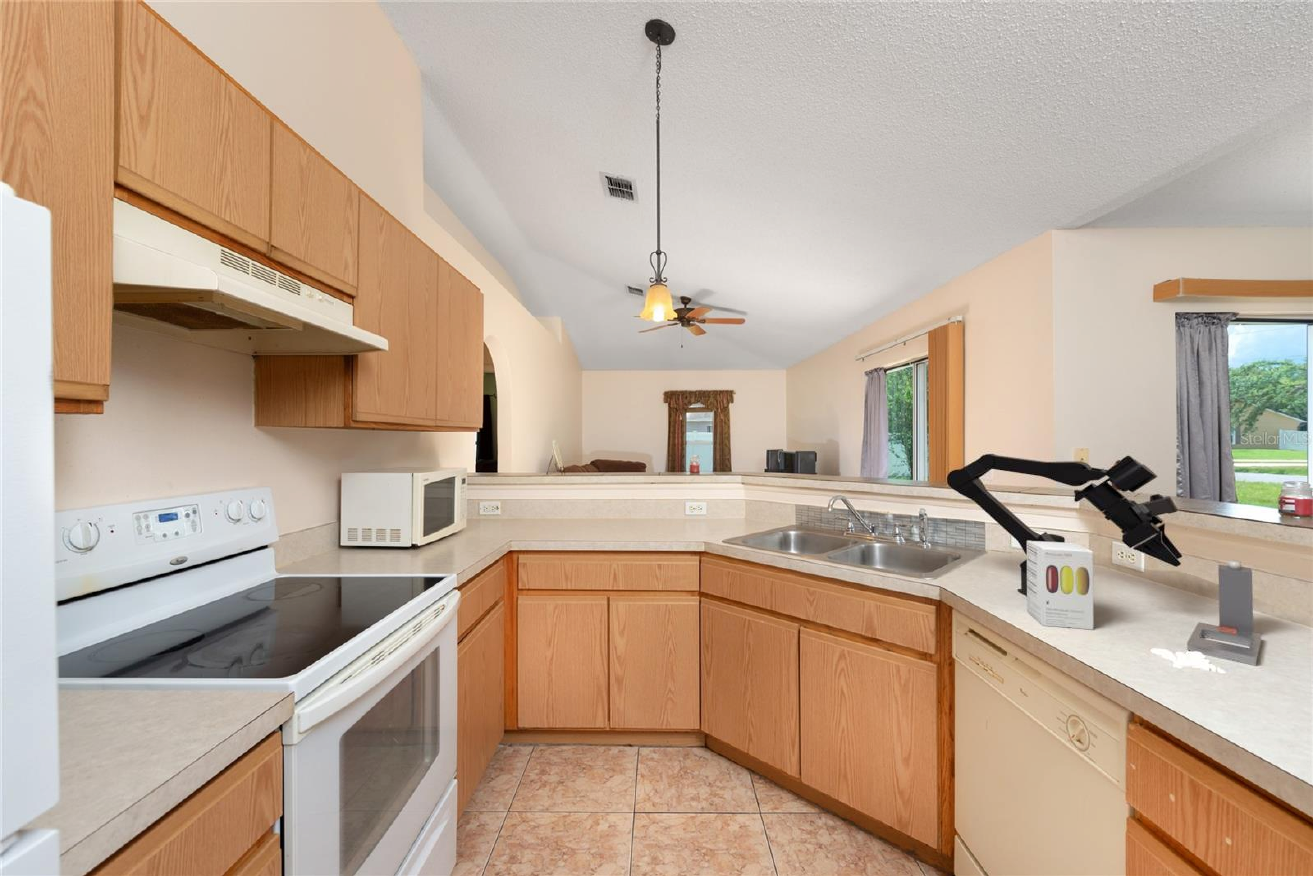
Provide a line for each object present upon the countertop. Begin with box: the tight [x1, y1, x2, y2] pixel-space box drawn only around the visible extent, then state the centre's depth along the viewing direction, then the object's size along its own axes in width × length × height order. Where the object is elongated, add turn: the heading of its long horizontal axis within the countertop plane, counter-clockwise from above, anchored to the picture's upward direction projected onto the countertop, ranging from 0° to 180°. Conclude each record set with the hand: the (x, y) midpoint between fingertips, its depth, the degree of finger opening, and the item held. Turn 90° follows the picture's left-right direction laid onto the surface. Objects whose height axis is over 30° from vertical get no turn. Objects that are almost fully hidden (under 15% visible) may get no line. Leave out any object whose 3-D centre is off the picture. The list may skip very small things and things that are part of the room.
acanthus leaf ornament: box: [1150, 648, 1227, 674], centre depth 91 cm, size 8×7×2 cm
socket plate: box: [1186, 621, 1262, 667], centre depth 97 cm, size 16×8×2 cm, turn 128°
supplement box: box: [1026, 541, 1095, 631], centre depth 112 cm, size 10×9×17 cm
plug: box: [1217, 559, 1254, 633], centre depth 104 cm, size 4×4×14 cm
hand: (1179, 561), depth 111 cm, fingers open, 9 cm apart
